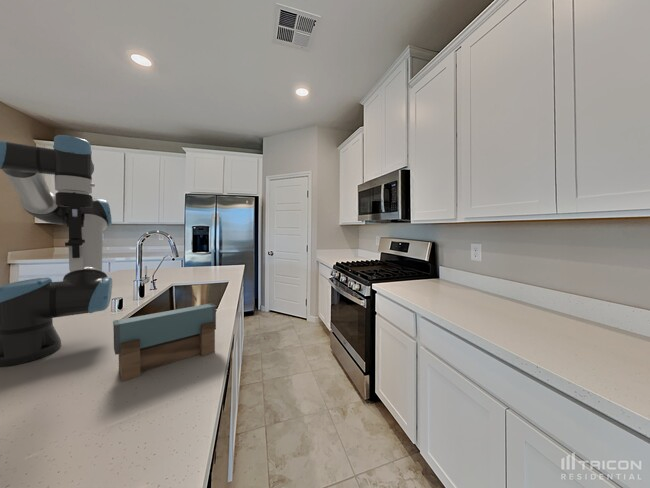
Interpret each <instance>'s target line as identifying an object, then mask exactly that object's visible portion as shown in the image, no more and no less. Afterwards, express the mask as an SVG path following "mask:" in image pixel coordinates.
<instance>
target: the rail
mask: <svg viewBox="0 0 650 488" xmlns="http://www.w3.org/2000/svg"><path fill="white" fill-rule="evenodd" d="M211 322H215V330H217V305H215V304H214V303H212V302H210V303H205V304H200V305H199V304H198V305H194V306H188V307H182V308H177V309H172V310H167V311H165V310H164V311H161V312H160V311H159V312H155V313H150V314H145V315H137V316H134V317H133V316H132V317H128V318H121V319H115V320H112V325H113V327H112V328H113V329H112V330H113V350H114V354H115V355H119V354H120V353H121V343H124V342H128V341H133V340H137V339H140V348H144V347H148V346H152V345H156V344H160V343H164V342H168V341H172V340H176V339H180V338H184V337H188V336H192V335H195V334H199V333H201V325H202V324H206V323H211Z"/></svg>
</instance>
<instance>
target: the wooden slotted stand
mask: <svg viewBox="0 0 650 488" xmlns="http://www.w3.org/2000/svg"><path fill="white" fill-rule="evenodd" d="M215 332H216V329H215V322H211V323H206V324H202V325H201V333H199V334H195V335H192V336H188V337H184V338H180V339H176V340H172V341H168V342H164V343H160V344H156V345H152V346H148V347H144V348H140V339H137V340H133V341H128V342H124V343H121V353H120V354H118V372H119V376H120V380H121V382H124V381H129V380H131V379H134V378H138V377H140V376H141V373H143V372H145V371H147V370H148V371H149V370H151V369H155V368H158V367H162V366H164V365H165V366H166V365H168V364H171V363H175V362H178V361H181V360H184V359H188V358H190V357H194V356H198V355H200V356H201V357H205V356H207V355H210V354H214V353H215V352H216V333H215Z"/></svg>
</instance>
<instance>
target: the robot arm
mask: <svg viewBox="0 0 650 488" xmlns="http://www.w3.org/2000/svg"><path fill="white" fill-rule="evenodd" d="M52 147H53V148H47V147H41V146H34V145H30V144H29V145H28V144H22V143H15V142H10V141H5V140H0V170H2V172H3V174H4V175H5V176H6V178H7V179H8V181H9V182H10V184H11V185H12V187H13V188H14V189H15V192H16V193H17V194H18V195H19V197H20V200H19V202H20V205H21V207H22V208H23V210H24V211H26V212H27V213H28V214H29V215H30V216H32V217H34V218H36V219H37V220H38V219H39V220H41V221H43V222H46V223H49V224H52V225H59V226H60V225H63V226H64V225H65V226H66V227H67V228H68V241H66V242H64V245H65V247H68V267H69V268H68V269H69V270H68V271H69V272H67V273H66V274H65V275H64V276H63V279H62V280H61V281H53V280H52V279H51V277H36V278H31V279H24V280H19V281H14V282H10V283H7V284H3V285H0V367H8V366H15V365H20V364H25V363H29V362H32V361H36V360H38V359H42V358H44V357H47V356H50V355H52V354H54V353H56V352H57V351H59V350H60V349H61V347H62V339H61V337H60V335H59V334H58V332H57V330H56V329H55V327H54V322H53V321H54V320H53V319H55V318H63V317H68V316H69V317H70V316H75V315H77V316H78V315H83V314H93V313H96V312H101V311H105V310H107V309H108V308H109V306H110V303H111V299H112V298H111V297H112V293H113V292H112V290H113V279H112V278H111V277H108V274H107V273H106V272H105V271H103V232H104V231H105V230H106V229H107V228H108V227H109V226H112V224H113V223H112V222H113V221H112V214H111V213H112V212H111V208H110V204H109V202H108V201H107V199H100V198H99V199H98V198H95V197H94V198H93V196H92V195H91V194H92V193H93V188H94V187H95V185H96V184H95V183H92V180H93V178H92V175H93V173H94V171H95V165H94V163H93V160H92V145H91V143H90V142H89V141H87V140H86V139H83V138H80V137H77V136H73V135H72V136H71V135H67V134H65V135H64V134H58V135H56V136H54V138H53V146H52ZM43 174H44V175H53V177H54V190H55V191H57V192H56V193H55V195H54V194H53V193H52V192H51V191H50V188H49V186H48V184H47V181H46V179H45V177H44V175H43Z"/></svg>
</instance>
